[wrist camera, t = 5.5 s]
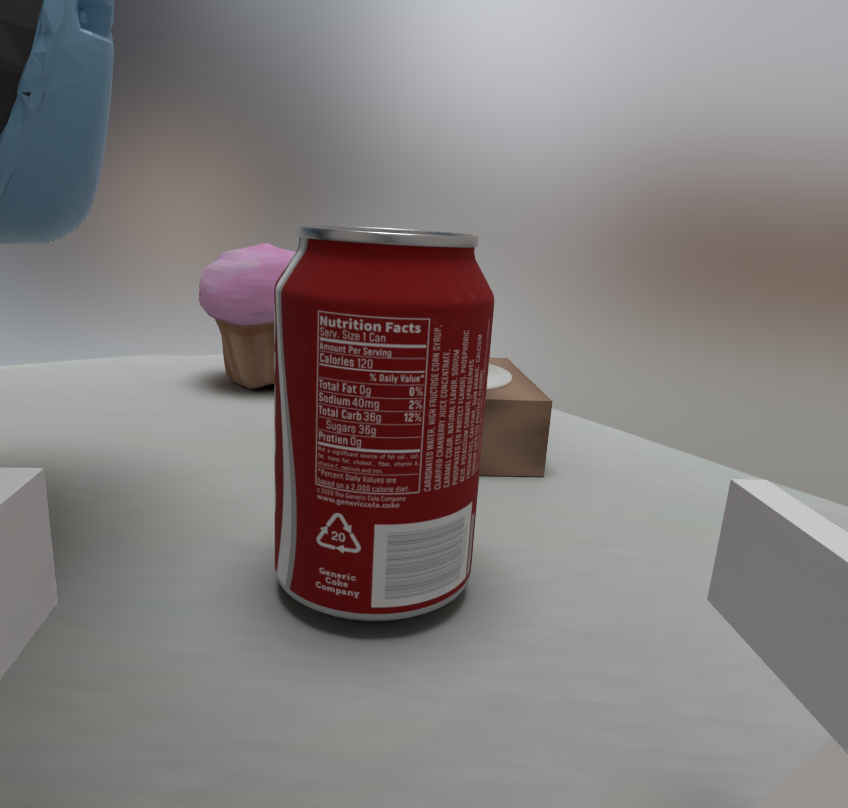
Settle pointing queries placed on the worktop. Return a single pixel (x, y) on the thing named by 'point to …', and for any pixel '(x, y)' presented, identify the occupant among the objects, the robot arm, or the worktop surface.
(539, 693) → the worktop surface
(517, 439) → the plinth
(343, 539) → the soda can
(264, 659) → the worktop surface
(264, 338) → the cupcake
